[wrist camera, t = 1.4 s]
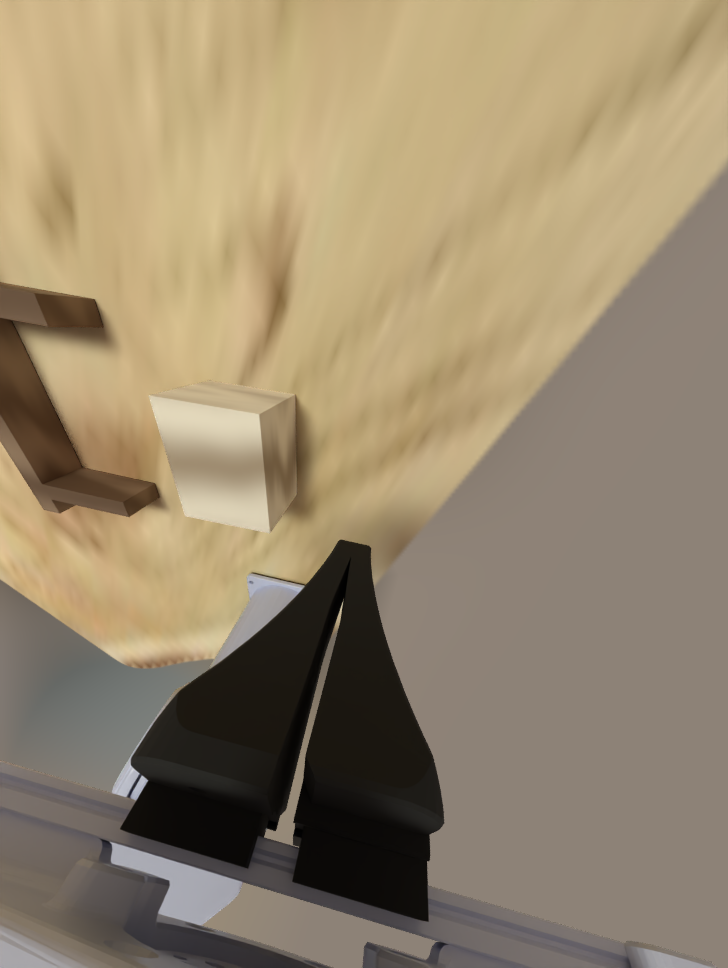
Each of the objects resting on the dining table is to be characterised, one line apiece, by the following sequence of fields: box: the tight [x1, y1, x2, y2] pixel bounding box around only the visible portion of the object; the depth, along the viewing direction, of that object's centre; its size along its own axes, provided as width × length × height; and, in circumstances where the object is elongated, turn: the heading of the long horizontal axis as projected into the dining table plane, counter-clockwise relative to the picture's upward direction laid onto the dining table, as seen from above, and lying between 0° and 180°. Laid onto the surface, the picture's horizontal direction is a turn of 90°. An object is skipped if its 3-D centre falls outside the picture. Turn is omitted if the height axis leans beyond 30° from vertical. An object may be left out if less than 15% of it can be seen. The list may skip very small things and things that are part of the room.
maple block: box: [148, 380, 297, 533], centre depth 17 cm, size 8×6×5 cm
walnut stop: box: [0, 282, 159, 517], centre depth 19 cm, size 18×8×3 cm, turn 172°
